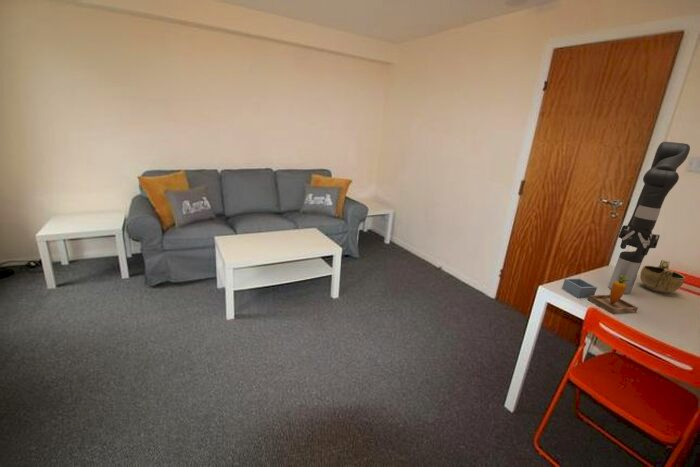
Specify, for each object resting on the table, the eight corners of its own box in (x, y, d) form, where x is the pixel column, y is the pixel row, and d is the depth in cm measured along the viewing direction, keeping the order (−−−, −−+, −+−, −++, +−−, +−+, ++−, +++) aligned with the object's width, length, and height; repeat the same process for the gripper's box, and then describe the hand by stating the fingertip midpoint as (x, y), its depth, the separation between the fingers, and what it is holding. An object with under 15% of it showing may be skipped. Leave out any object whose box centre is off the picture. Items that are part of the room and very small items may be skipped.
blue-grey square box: (576, 288, 172) (579, 278, 171) (593, 297, 164) (597, 287, 162) (561, 288, 170) (564, 278, 168) (578, 298, 161) (581, 287, 159)
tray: (610, 298, 164) (612, 294, 163) (636, 312, 153) (638, 307, 152) (587, 299, 160) (589, 295, 159) (612, 314, 149) (614, 309, 148)
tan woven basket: (679, 303, 167) (691, 275, 162) (636, 290, 177) (646, 264, 172) (674, 289, 184) (686, 264, 179) (635, 278, 194) (645, 254, 189)
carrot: (614, 302, 158) (625, 273, 153) (620, 307, 154) (633, 278, 149) (603, 300, 159) (614, 272, 154) (609, 306, 154) (621, 276, 149)
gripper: (670, 222, 137) (655, 258, 142) (635, 212, 150) (622, 246, 155) (657, 221, 135) (642, 258, 140) (622, 212, 148) (610, 246, 153)
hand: (632, 252), depth 148 cm, fingers open, 8 cm apart
